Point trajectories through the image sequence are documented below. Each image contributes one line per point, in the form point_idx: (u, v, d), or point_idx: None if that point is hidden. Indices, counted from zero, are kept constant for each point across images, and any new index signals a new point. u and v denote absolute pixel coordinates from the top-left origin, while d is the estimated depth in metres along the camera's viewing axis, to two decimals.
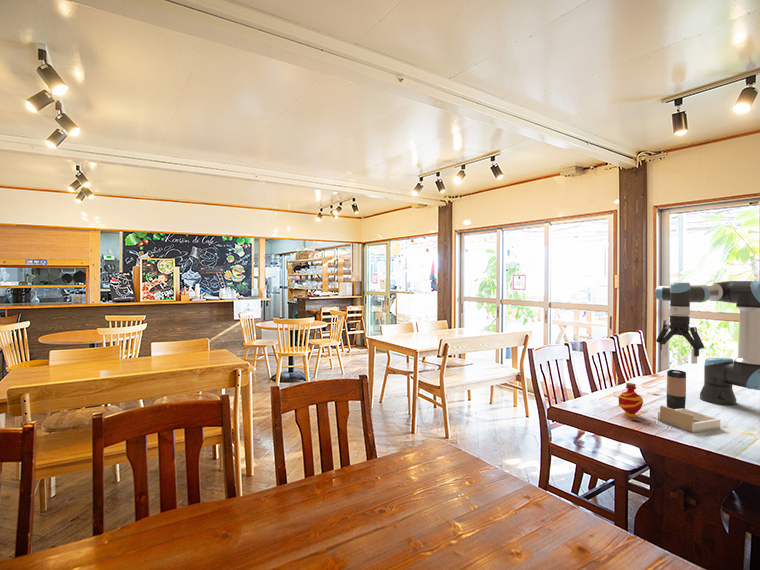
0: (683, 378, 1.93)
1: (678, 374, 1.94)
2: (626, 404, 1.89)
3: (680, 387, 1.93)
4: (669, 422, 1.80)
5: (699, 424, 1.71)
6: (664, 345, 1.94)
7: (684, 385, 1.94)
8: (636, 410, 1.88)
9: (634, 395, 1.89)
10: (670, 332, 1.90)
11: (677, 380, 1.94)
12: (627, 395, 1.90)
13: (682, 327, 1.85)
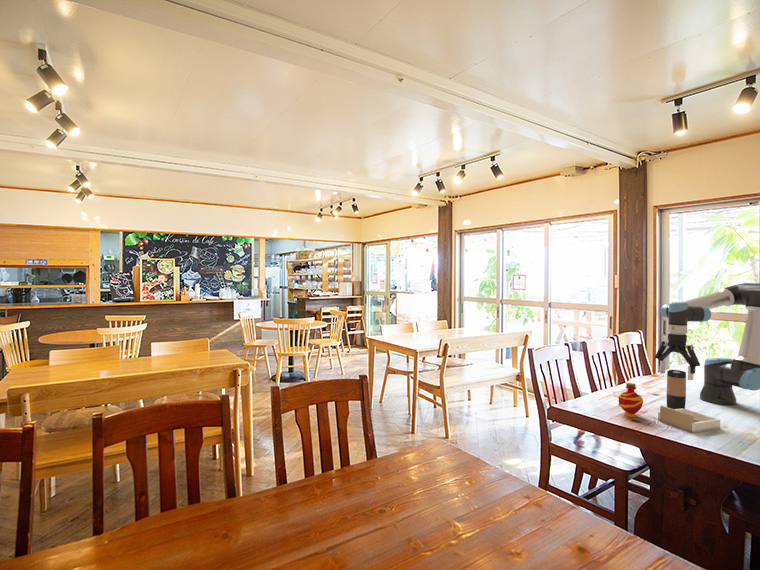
0: (683, 378, 1.93)
1: (678, 374, 1.94)
2: (626, 404, 1.89)
3: (680, 387, 1.93)
4: (669, 422, 1.80)
5: (699, 424, 1.71)
6: (662, 361, 2.03)
7: (684, 385, 1.94)
8: (636, 410, 1.88)
9: (634, 395, 1.89)
10: (668, 349, 1.99)
11: (677, 380, 1.94)
12: (627, 395, 1.90)
13: (679, 345, 1.94)
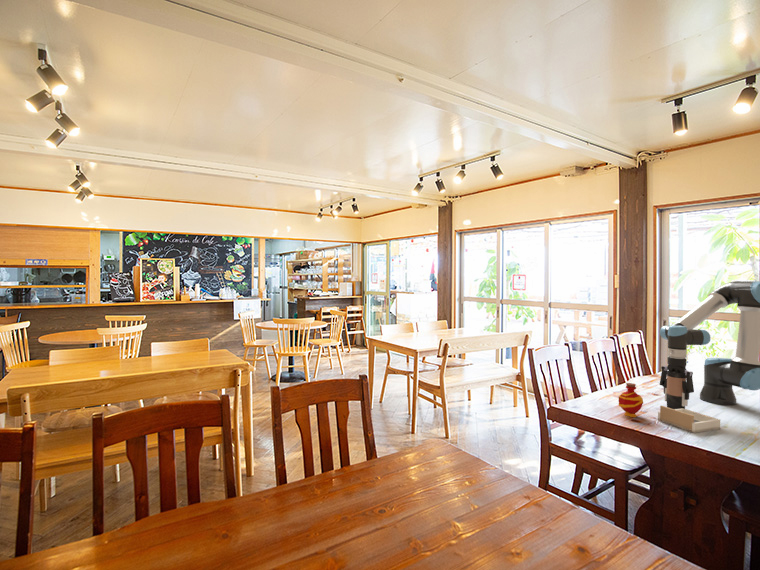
0: (683, 378, 1.93)
1: (678, 374, 1.94)
2: (626, 404, 1.89)
3: (680, 387, 1.93)
4: (669, 422, 1.80)
5: (699, 424, 1.71)
6: None
7: None
8: (636, 410, 1.88)
9: (634, 395, 1.89)
10: None
11: (677, 380, 1.94)
12: (627, 395, 1.90)
13: (679, 368, 1.94)
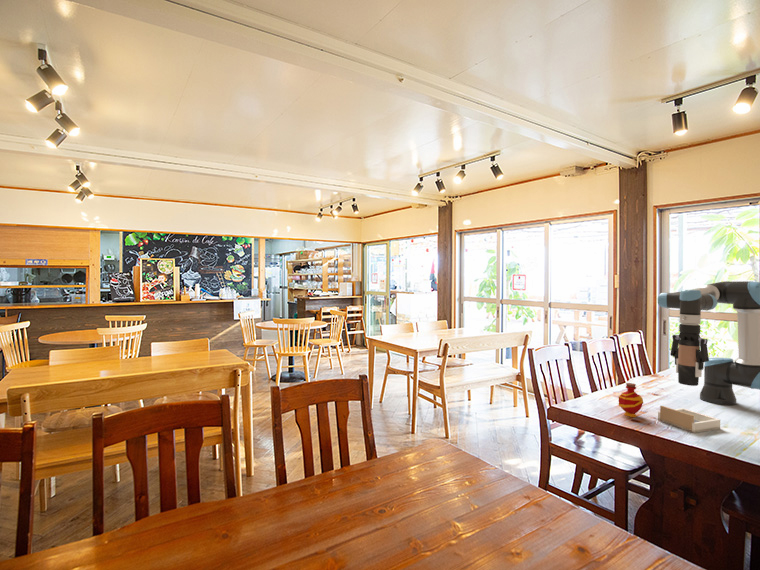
0: (697, 346, 1.76)
1: (691, 342, 1.77)
2: (626, 404, 1.89)
3: (694, 356, 1.76)
4: (669, 422, 1.80)
5: (699, 424, 1.71)
6: None
7: None
8: (636, 410, 1.88)
9: (634, 395, 1.89)
10: None
11: (690, 348, 1.77)
12: (627, 395, 1.90)
13: (693, 336, 1.77)
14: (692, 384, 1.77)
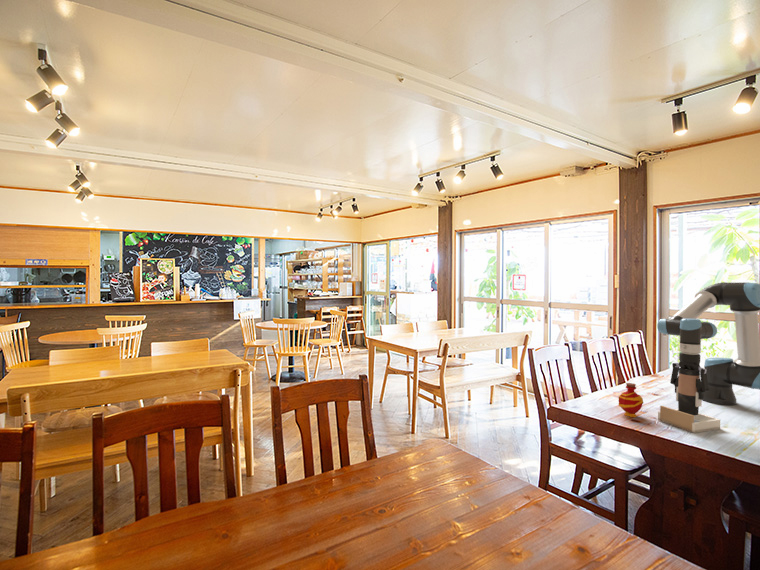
0: (697, 376, 1.76)
1: (691, 371, 1.76)
2: (626, 404, 1.89)
3: (694, 385, 1.76)
4: (669, 422, 1.80)
5: (699, 424, 1.71)
6: None
7: None
8: (636, 410, 1.88)
9: (634, 395, 1.89)
10: None
11: (690, 378, 1.76)
12: (627, 395, 1.90)
13: (693, 365, 1.77)
14: (692, 414, 1.77)
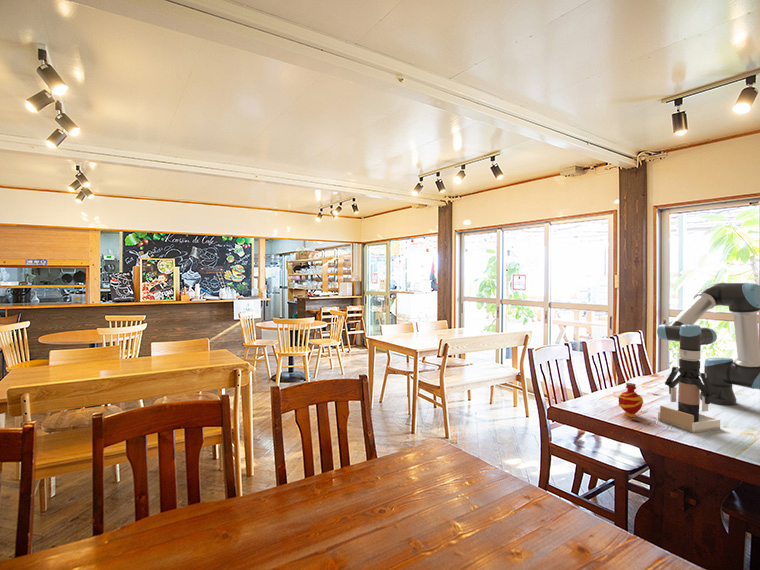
0: None
1: (691, 380, 1.77)
2: (626, 404, 1.89)
3: (694, 394, 1.76)
4: (669, 422, 1.80)
5: (699, 424, 1.71)
6: (673, 389, 1.86)
7: (698, 392, 1.77)
8: (636, 410, 1.88)
9: (634, 395, 1.89)
10: None
11: (690, 387, 1.77)
12: (627, 395, 1.90)
13: (692, 372, 1.77)
14: None
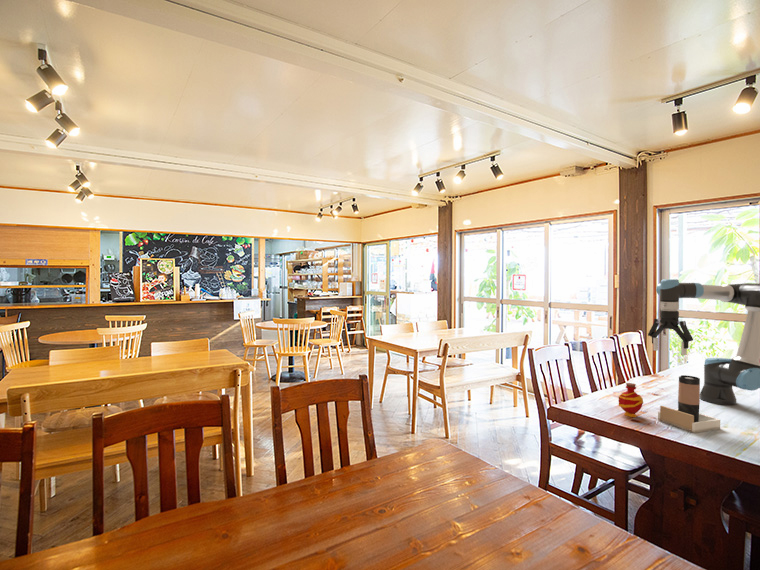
0: (697, 385, 1.76)
1: (691, 380, 1.76)
2: (626, 404, 1.89)
3: (694, 394, 1.76)
4: (669, 422, 1.80)
5: (699, 424, 1.71)
6: (655, 338, 2.05)
7: (698, 392, 1.77)
8: (636, 410, 1.88)
9: (634, 395, 1.89)
10: (661, 326, 2.02)
11: (690, 387, 1.77)
12: (627, 395, 1.90)
13: (672, 321, 1.97)
14: None
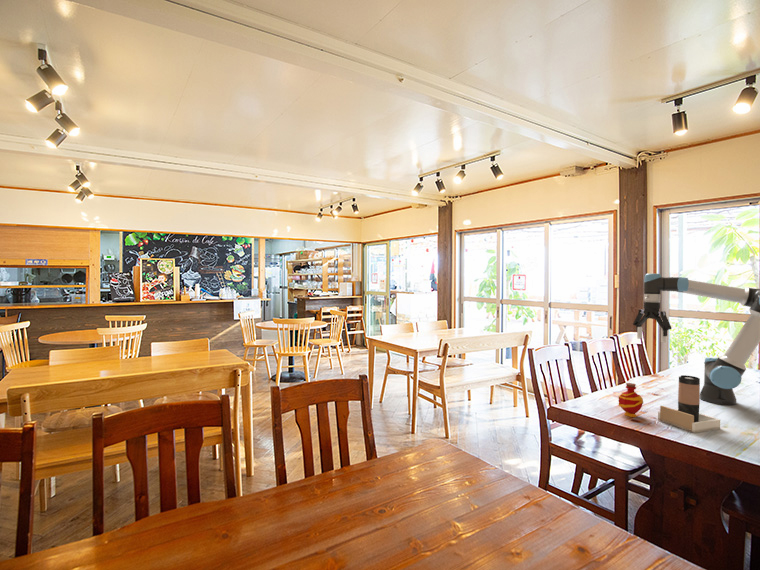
0: (697, 385, 1.76)
1: (691, 380, 1.76)
2: (626, 404, 1.89)
3: (694, 394, 1.76)
4: (669, 422, 1.80)
5: (699, 424, 1.71)
6: (639, 327, 2.26)
7: (698, 392, 1.76)
8: (636, 410, 1.88)
9: (634, 395, 1.89)
10: (644, 316, 2.22)
11: (690, 387, 1.77)
12: (627, 395, 1.90)
13: (654, 311, 2.17)
14: None
